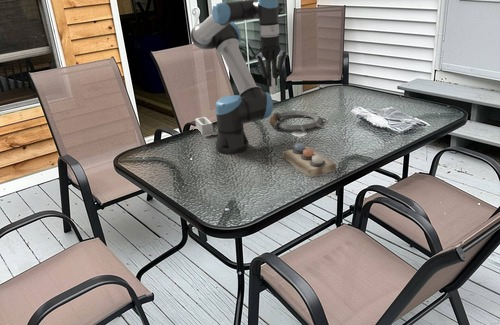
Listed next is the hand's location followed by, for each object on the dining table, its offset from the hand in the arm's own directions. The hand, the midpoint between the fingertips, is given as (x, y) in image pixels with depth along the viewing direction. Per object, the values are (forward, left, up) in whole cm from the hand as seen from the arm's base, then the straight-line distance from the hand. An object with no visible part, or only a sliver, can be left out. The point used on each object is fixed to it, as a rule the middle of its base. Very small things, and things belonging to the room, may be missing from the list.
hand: (272, 93), depth 187 cm
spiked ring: (+26, +28, -27) cm, 47 cm away
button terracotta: (+6, -19, -23) cm, 30 cm away
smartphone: (-20, +43, -27) cm, 55 cm away
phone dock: (-20, +43, -26) cm, 54 cm away
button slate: (+6, -12, -23) cm, 26 cm away
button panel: (+6, -19, -26) cm, 33 cm away
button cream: (+6, -26, -23) cm, 35 cm away
